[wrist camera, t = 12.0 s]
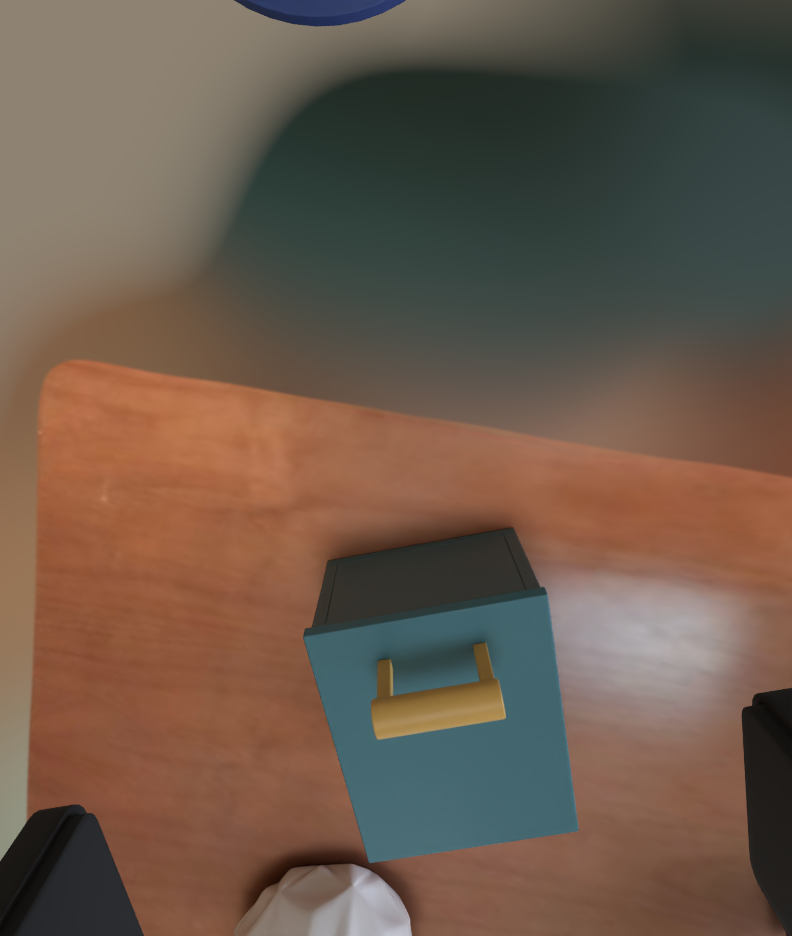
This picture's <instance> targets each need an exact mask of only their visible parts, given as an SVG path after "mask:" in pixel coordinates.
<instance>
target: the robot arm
mask: <svg viewBox="0 0 792 936" xmlns="http://www.w3.org/2000/svg"><path fill="white" fill-rule="evenodd" d="M742 729H743V747H744V764H745V782H746V800H747V817H748V835H749V853H750V861H751V865H752V869H753V872H754V875H755V878H756V880H757V882H758V884H759V886H760V888H761V890H762V892H763V894H764V895H765V897H766V899H767V900H768V902H769V904H770V905H771V907H772V909H773V911H774V912H775V914H776V916H777V917H778V919H779V921H780V922H781V924H782V926H783V928H784V929H785V931H786V933H787V934H788V936H792V688H788V689H782V690H776V691H770V692H764V693H758V694H756V695H754V697H753V700H752V706H749V707H745V708H743V710H742ZM0 936H144V935H143V932H142V930H141V927H140V925H139V922H138V920H137V917H136V915H135V912H134V910H133V907H132V905H131V902H130V900H129V897H128V895H127V892H126V890H125V887H124V885H123V882H122V880H121V877H120V875H119V872H118V870H117V867H116V865H115V862H114V860H113V857H112V855H111V852H110V850H109V847H108V845H107V842H106V840H105V837H104V835H103V832H102V830H101V828H100V825H99V823H98V820H97V818H96V817H95V815H93V814H92V813H87V812H86V811H85V809H84V808H83V807H82V806H80V805H69V806H62V807H56V808H50V809H44V810H39V811H37V812H35V813H34V814H33V815H32V816H31V817H30V818H29V820H28V821H27V823H26V824H25V826H24V827H23V829H22V830H21V832H20V833H19V835H18V836H17V838H16V839H15V840H14V842H13V844H12V845H11V846H10V848H9V849H8V851H7V852H6V854H5V855H4V857H3V858H2V860H1V861H0Z"/></svg>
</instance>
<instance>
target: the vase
mask: <svg viewBox="0 0 792 936" xmlns="http://www.w3.org/2000/svg"><path fill="white" fill-rule="evenodd" d="M234 936H412V932H411V926H410V917H409V914H408V912H407V910H406V908H405V906H404V904H403V902H402V900H401V899H400V897H399V896H398V894H397V893H396V892H395V891H394V890H393V889H392V888H391V887H390V886H389V885H388V884H387V883H386V882H385V881H384V880H383V879H382V878H380V877H379V876H378V875H377V874H376V873H374V872H372V871H370V870H369V869H366V868H363V867H360V866H357V865H354V864H332V865H320V866H316V865H315V866H305V867H295V868H292V869H290V870H289V871H288V872H287V873H286V874H285V875H284V876H283V878H282V879H281V880H280V882H279V883H276V884H274V885H271V886H269V887H267V888H265V890H264V891H263V892H262V893H261V894H260V896H259V898H258V900H257V901H256V903H255V904H254V905H253V906H252V907H251V908H250V909H249V910H248V912H247V913H246V914H245V915H244V916H243V917H242V919H241V920H240V921H239V923H238V925H237V926H236V928H235V930H234Z"/></svg>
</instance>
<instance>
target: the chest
mask: <svg viewBox="0 0 792 936" xmlns="http://www.w3.org/2000/svg"><path fill="white" fill-rule="evenodd" d="M535 588H541V587H540V585H539V583H538V581H537V579H536V576H535V574H534V572H533V570H532V568H531V565H530V563H529V561H528V559H527V556H526V554H525V552H524V550H523V548H522V545H521V543H520V541H519V539H518V537H517V534H516V532H515V530H514V528H507V529H502V530H496V531H491V532H485V533H479V534H474V535H468V536H463V537H457V538H452V539H446V540H441V541H435V542H430V543H424V544H418V545H413V546H407V547H402V548H396V549H391V550H385V551H380V552H374V553H369V554H363V555H357V556H352V557H346V558H341V559H335V560H330V561H328V562H327V567H326V571H325V575H324V579H323V583H322V588H321V592H320V596H319V600H318V604H317V608H316V612H315V616H314V621H313V625H312V627H317V626H323V625H329V624H335V623H340V622H346V621H352V620H358V619H363V618H369V617H375V616H380V615H386V614H392V613H398V612H403V611H409V610H415V609H420V608H426V607H432V606H438V605H443V604H449V603H455V602H461V601H466V600H472V599H478V598H483V597H489V596H495V595H501V594H506V593H512V592H518V591H524V590H529V589H535Z"/></svg>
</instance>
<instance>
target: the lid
mask: <svg viewBox="0 0 792 936" xmlns="http://www.w3.org/2000/svg"><path fill="white" fill-rule="evenodd" d="M303 639H304V642H305V646H306V649H307V653H308V656H309V659H310V663H311V666H312V670H313V673H314V676H315V680H316V683H317V687H318V690H319V694H320V697H321V700H322V704H323V707H324V711H325V714H326V718H327V721H328V724H329V728H330V731H331V735H332V738H333V741H334V745H335V748H336V752H337V755H338V759H339V762H340V765H341V769H342V772H343V776H344V779H345V782H346V786H347V789H348V793H349V796H350V800H351V803H352V806H353V810H354V813H355V817H356V820H357V824H358V827H359V830H360V834H361V837H362V841H363V844H364V847H365V851H366V854H367V858H368V861H369V863H373V862H380V861H387V860H393V859H400V858H406V857H413V856H419V855H426V854H432V853H439V852H445V851H452V850H458V849H465V848H471V847H478V846H484V845H491V844H498V843H504V842H511V841H517V840H524V839H530V838H537V837H543V836H550V835H556V834H563V833H569V832H576V831H578V830H579V829H578V821H577V814H576V806H575V798H574V791H573V783H572V776H571V768H570V760H569V753H568V745H567V737H566V730H565V722H564V715H563V707H562V699H561V692H560V684H559V677H558V669H557V661H556V654H555V646H554V638H553V631H552V623H551V616H550V608H549V600H548V594H547V592H546V590H545V588H544V587H541V588H535V589H529V590H524V591H518V592H512V593H506V594H501V595H495V596H489V597H483V598H478V599H472V600H466V601H461V602H455V603H449V604H443V605H438V606H432V607H426V608H420V609H415V610H409V611H403V612H398V613H392V614H386V615H380V616H375V617H369V618H363V619H358V620H352V621H346V622H340V623H335V624H329V625H323V626H317V627H312V628H306V629H305V631H304V636H303Z"/></svg>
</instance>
